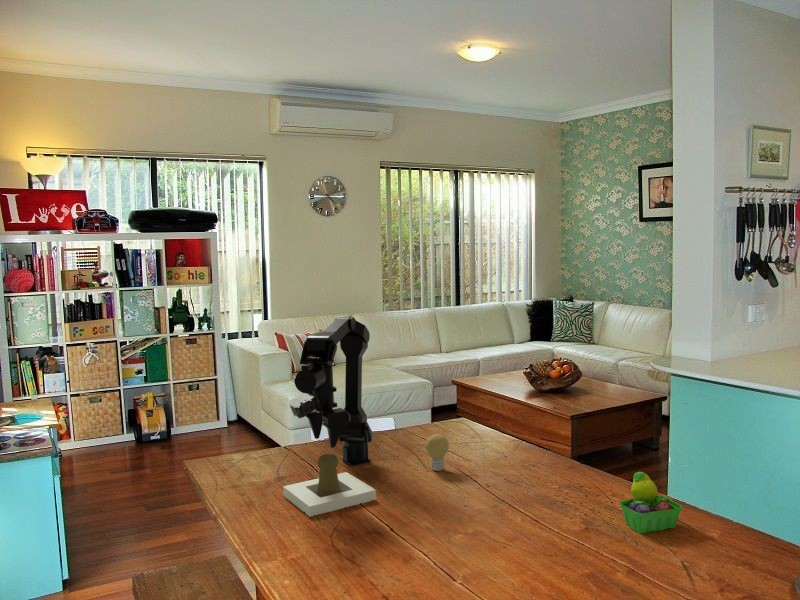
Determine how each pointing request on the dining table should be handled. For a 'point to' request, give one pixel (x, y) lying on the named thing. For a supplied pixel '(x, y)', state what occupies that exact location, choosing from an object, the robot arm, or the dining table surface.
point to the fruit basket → (649, 507)
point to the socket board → (314, 505)
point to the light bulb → (437, 450)
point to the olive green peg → (328, 475)
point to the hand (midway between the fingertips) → (324, 442)
